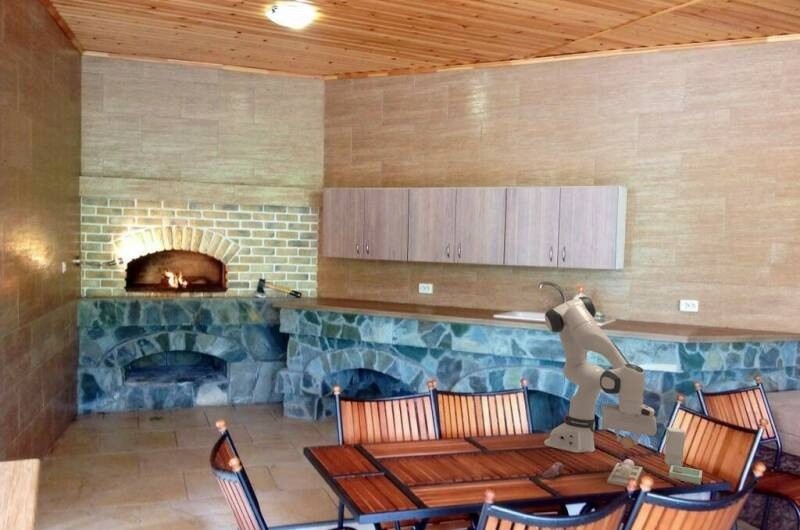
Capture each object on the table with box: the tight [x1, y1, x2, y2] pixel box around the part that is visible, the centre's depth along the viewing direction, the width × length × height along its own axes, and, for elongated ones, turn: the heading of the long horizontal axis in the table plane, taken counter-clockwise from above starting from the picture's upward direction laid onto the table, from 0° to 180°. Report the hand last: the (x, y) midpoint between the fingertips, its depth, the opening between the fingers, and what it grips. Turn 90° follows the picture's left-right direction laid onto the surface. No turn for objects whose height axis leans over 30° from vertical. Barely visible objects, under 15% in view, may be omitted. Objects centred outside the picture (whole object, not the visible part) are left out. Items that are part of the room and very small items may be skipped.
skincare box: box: [663, 426, 686, 467], centre depth 324 cm, size 8×7×16 cm
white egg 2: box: [620, 464, 632, 476], centre depth 298 cm, size 5×5×5 cm
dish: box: [668, 465, 703, 486], centre depth 305 cm, size 12×12×3 cm
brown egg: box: [620, 435, 634, 449], centre depth 289 cm, size 5×5×5 cm
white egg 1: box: [622, 458, 636, 470], centre depth 306 cm, size 5×5×5 cm
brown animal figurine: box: [541, 462, 565, 479], centre depth 292 cm, size 10×5×7 cm, turn 149°
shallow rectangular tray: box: [606, 462, 643, 488], centre depth 298 cm, size 10×28×2 cm, turn 156°
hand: (627, 443), depth 289 cm, fingers closed on brown egg, 5 cm apart
